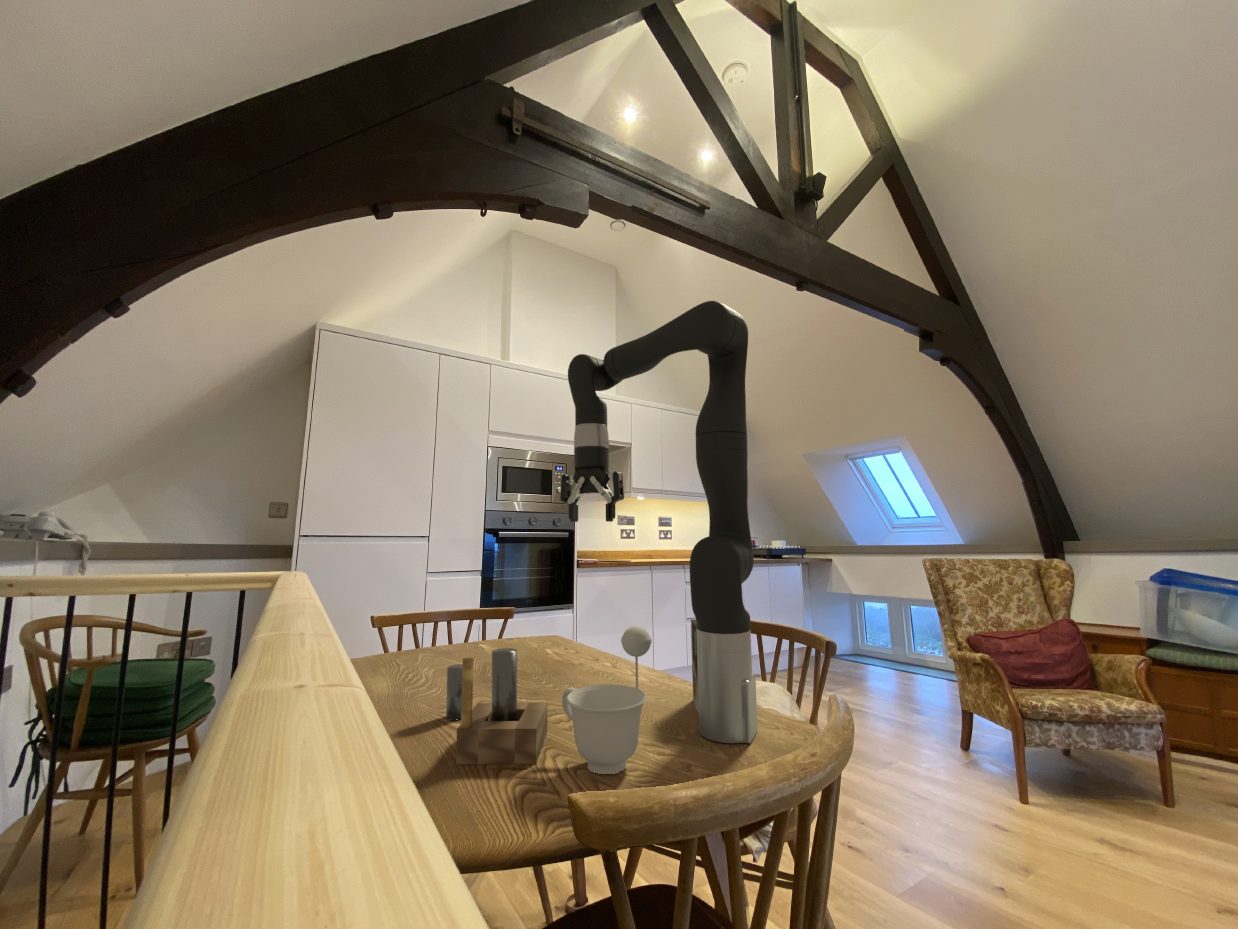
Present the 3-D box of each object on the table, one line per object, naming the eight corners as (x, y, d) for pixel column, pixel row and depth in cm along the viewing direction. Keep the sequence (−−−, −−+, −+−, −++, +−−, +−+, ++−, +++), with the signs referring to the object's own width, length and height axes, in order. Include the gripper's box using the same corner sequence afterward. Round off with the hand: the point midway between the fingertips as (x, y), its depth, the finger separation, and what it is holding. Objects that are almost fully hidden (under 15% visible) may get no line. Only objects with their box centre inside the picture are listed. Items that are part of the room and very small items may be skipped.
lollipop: (617, 707, 105) (617, 628, 106) (626, 698, 110) (625, 623, 112) (648, 710, 103) (647, 629, 105) (655, 700, 108) (654, 624, 110)
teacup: (590, 739, 89) (589, 676, 90) (664, 763, 80) (662, 693, 81) (535, 764, 80) (535, 694, 81) (611, 795, 71) (611, 715, 72)
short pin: (472, 714, 101) (473, 665, 102) (458, 721, 98) (459, 670, 99) (456, 712, 103) (457, 663, 104) (441, 718, 100) (442, 668, 101)
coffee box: (732, 715, 100) (729, 626, 102) (697, 715, 100) (695, 626, 102) (724, 699, 109) (721, 617, 111) (692, 699, 109) (690, 618, 111)
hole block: (547, 733, 92) (547, 642, 94) (536, 763, 80) (536, 659, 82) (477, 733, 92) (479, 643, 94) (455, 764, 80) (458, 660, 82)
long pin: (522, 744, 87) (521, 649, 89) (507, 754, 84) (507, 654, 85) (502, 740, 89) (501, 647, 90) (486, 750, 85) (486, 652, 87)
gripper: (554, 446, 116) (554, 522, 115) (613, 441, 110) (614, 521, 109) (571, 451, 123) (571, 522, 121) (628, 446, 117) (629, 521, 115)
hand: (591, 521), depth 115 cm, fingers open, 8 cm apart
